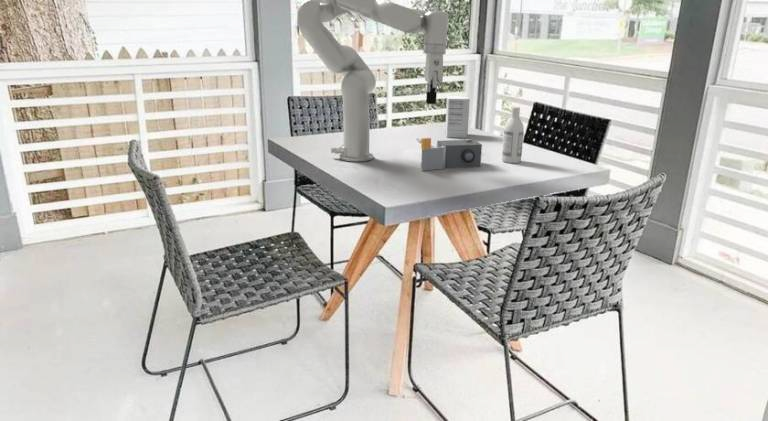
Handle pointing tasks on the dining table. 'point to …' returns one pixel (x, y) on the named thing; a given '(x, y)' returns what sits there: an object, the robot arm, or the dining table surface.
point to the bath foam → (513, 138)
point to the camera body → (461, 153)
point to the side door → (432, 156)
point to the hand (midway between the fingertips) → (430, 103)
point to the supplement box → (457, 116)
